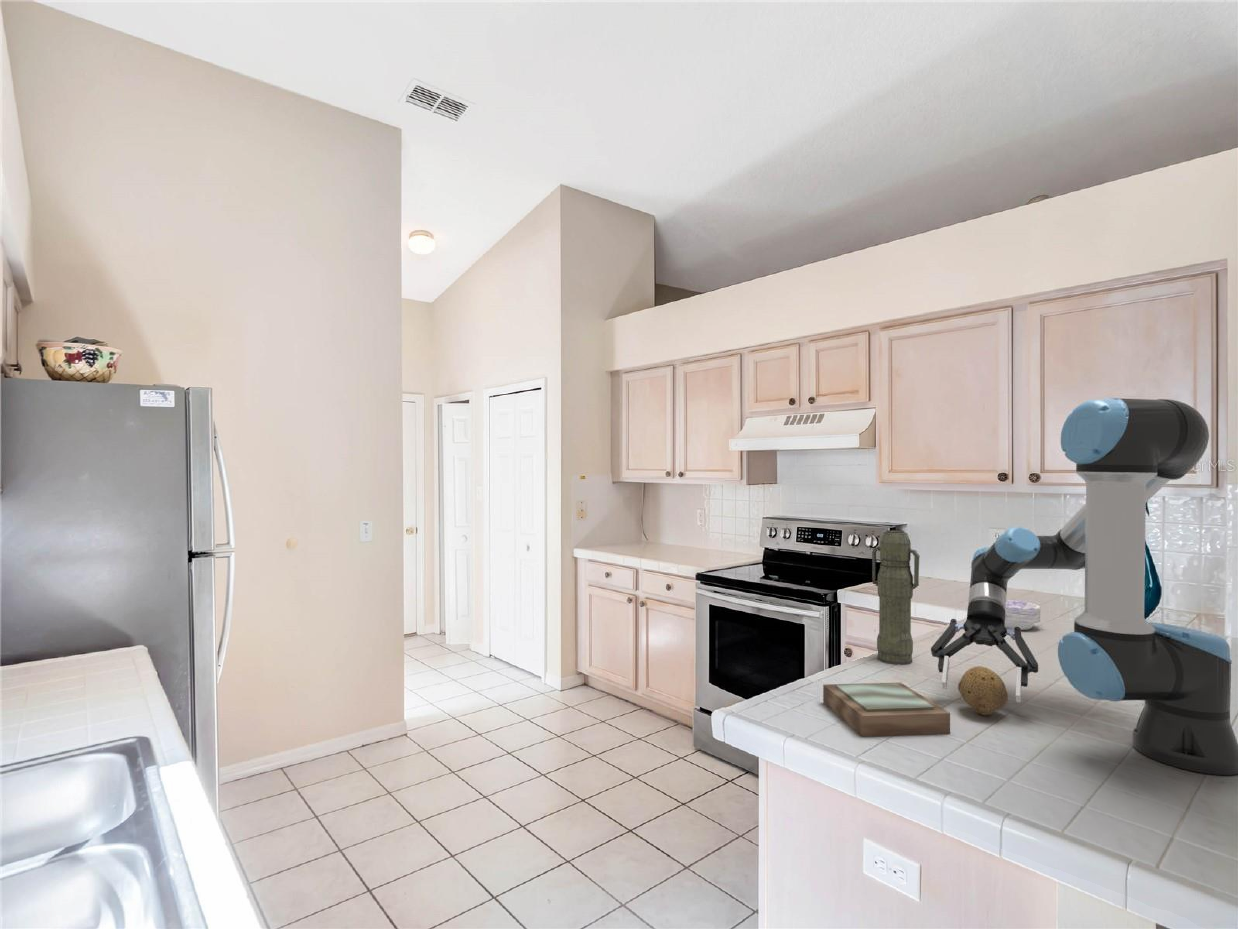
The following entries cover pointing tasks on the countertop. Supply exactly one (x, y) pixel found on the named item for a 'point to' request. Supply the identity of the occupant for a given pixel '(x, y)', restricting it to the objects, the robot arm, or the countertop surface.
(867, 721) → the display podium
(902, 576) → the thermos
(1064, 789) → the countertop surface
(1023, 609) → the paper bowls
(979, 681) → the brown rounded lump
